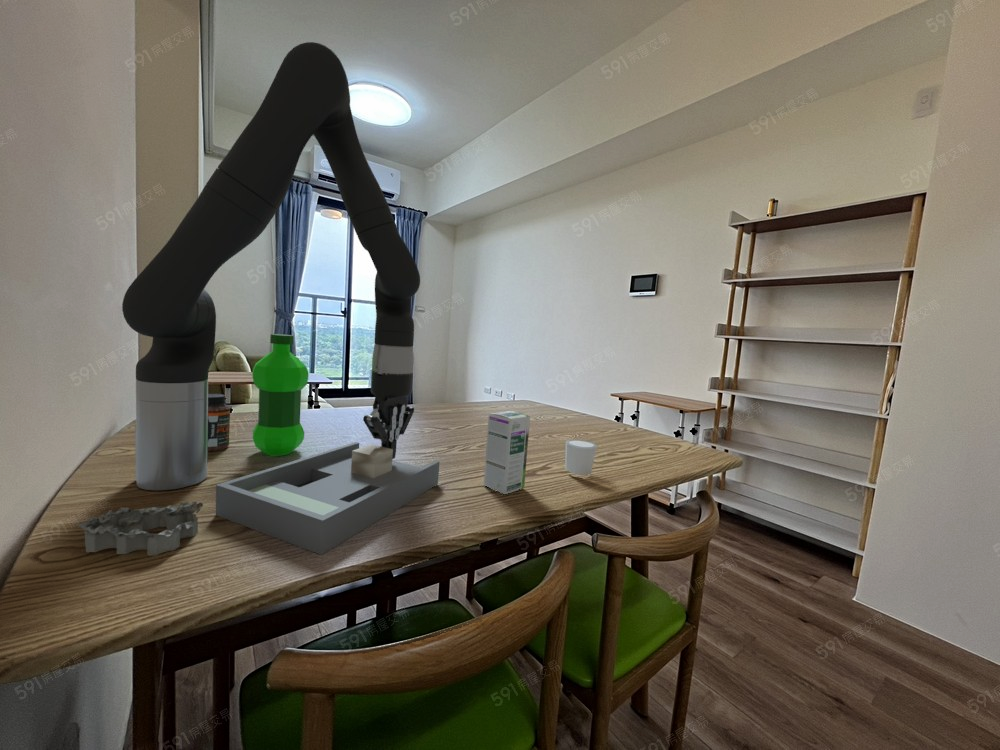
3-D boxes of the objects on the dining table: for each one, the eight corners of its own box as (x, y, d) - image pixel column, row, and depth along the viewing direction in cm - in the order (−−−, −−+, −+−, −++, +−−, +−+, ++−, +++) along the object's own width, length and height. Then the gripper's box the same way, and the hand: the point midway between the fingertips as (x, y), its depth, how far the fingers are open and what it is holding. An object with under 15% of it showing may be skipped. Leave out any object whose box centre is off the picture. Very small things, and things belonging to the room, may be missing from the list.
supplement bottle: (221, 452, 83) (222, 398, 82) (188, 451, 82) (188, 396, 81) (234, 444, 89) (235, 393, 88) (204, 443, 88) (204, 392, 87)
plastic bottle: (276, 463, 80) (280, 336, 77) (238, 453, 84) (241, 332, 81) (315, 450, 89) (320, 337, 87) (279, 442, 93) (283, 333, 90)
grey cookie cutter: (207, 530, 55) (208, 501, 54) (161, 562, 47) (162, 528, 47) (127, 523, 54) (127, 494, 54) (68, 553, 47) (68, 520, 46)
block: (351, 472, 72) (352, 450, 72) (369, 464, 77) (371, 444, 76) (373, 478, 70) (375, 456, 70) (391, 470, 75) (392, 449, 74)
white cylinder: (583, 468, 94) (586, 439, 93) (599, 479, 88) (603, 447, 87) (556, 469, 92) (560, 439, 91) (571, 480, 85) (575, 448, 85)
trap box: (437, 484, 77) (439, 461, 76) (321, 554, 51) (322, 520, 50) (354, 463, 84) (355, 442, 83) (215, 514, 58) (216, 484, 58)
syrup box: (504, 496, 74) (512, 418, 72) (482, 485, 78) (488, 411, 76) (524, 489, 78) (531, 415, 77) (502, 479, 82) (508, 409, 81)
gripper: (397, 365, 83) (393, 447, 85) (351, 369, 71) (348, 464, 73) (428, 369, 81) (423, 453, 83) (387, 374, 68) (382, 473, 70)
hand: (388, 458), depth 78 cm, fingers closed
